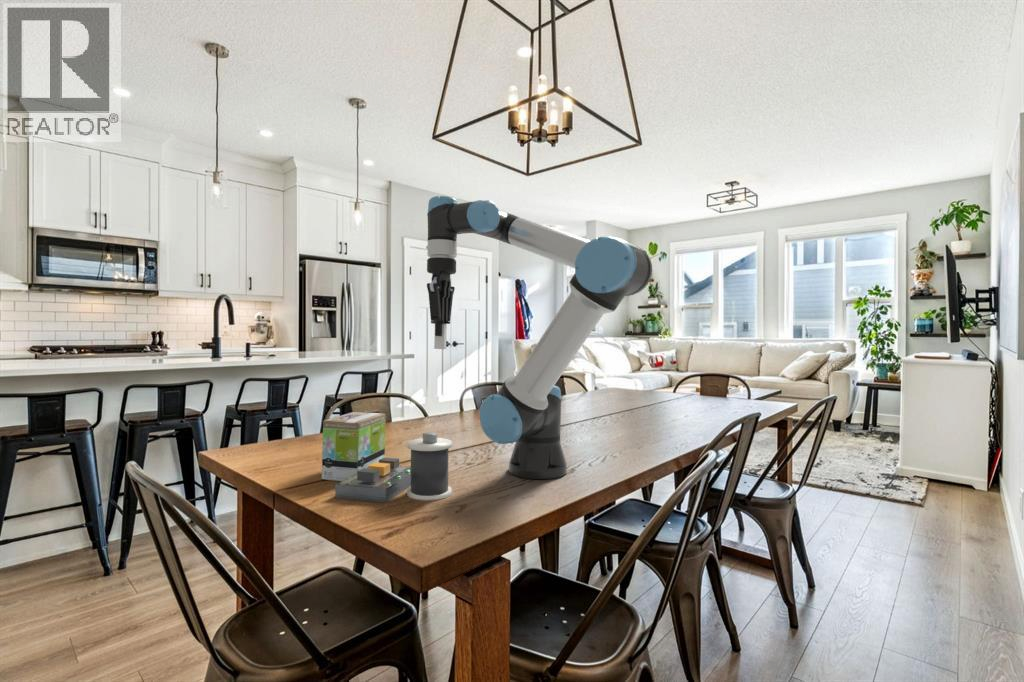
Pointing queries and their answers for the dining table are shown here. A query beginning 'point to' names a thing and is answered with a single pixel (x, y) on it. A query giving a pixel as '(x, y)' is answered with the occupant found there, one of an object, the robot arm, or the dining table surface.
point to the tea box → (352, 444)
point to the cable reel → (429, 468)
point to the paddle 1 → (368, 475)
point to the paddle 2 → (390, 462)
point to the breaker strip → (375, 486)
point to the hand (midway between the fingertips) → (440, 348)
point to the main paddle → (381, 468)
